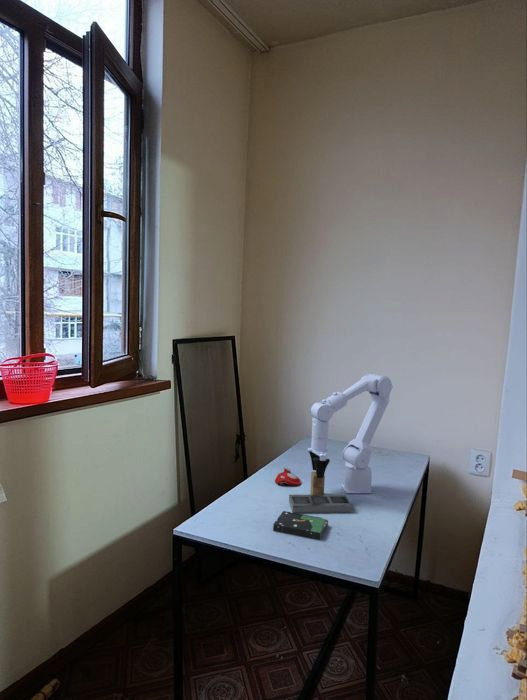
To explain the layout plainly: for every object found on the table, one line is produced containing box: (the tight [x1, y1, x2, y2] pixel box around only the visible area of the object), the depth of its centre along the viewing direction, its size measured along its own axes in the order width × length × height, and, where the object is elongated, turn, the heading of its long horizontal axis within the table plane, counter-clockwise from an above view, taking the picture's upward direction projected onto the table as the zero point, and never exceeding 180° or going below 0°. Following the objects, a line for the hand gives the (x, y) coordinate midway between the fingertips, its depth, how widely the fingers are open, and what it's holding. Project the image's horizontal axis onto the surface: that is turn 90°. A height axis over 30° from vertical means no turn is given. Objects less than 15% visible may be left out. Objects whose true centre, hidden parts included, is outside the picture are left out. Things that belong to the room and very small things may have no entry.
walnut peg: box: [310, 471, 326, 495], centre depth 174 cm, size 4×4×8 cm
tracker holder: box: [274, 466, 302, 487], centre depth 187 cm, size 13×5×10 cm
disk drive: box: [272, 510, 329, 541], centre depth 149 cm, size 10×3×15 cm
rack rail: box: [288, 494, 354, 514], centre depth 164 cm, size 20×9×2 cm, turn 95°
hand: (317, 473), depth 173 cm, fingers open, 7 cm apart
